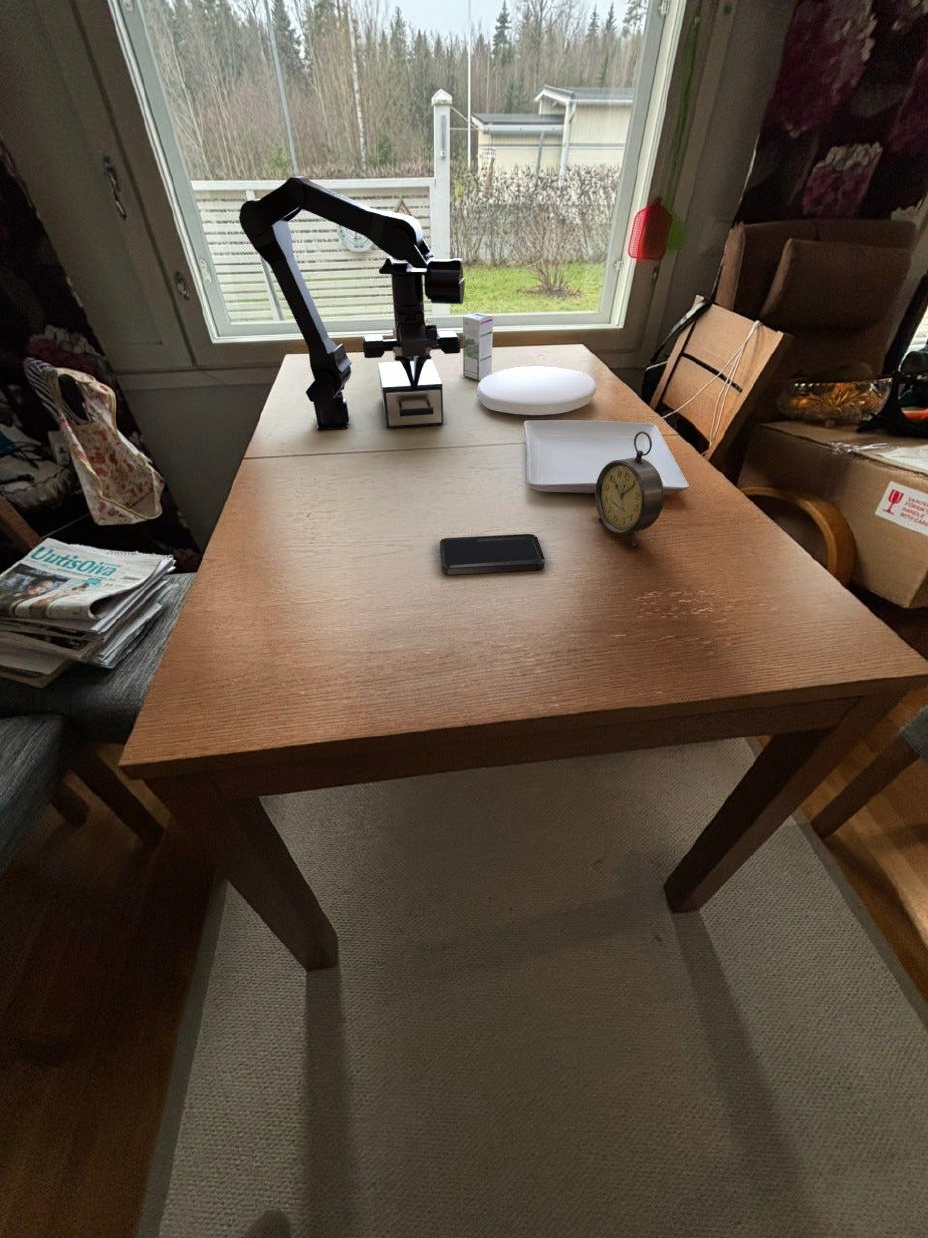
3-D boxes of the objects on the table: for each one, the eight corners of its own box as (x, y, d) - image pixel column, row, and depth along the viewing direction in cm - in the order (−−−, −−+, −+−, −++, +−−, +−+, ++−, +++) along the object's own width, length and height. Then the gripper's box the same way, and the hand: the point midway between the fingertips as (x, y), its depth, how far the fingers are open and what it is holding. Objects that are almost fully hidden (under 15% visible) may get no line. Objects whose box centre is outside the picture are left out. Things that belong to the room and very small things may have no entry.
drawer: (444, 431, 107) (443, 398, 102) (391, 435, 105) (387, 402, 101) (432, 397, 121) (431, 367, 117) (385, 400, 120) (381, 369, 115)
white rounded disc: (471, 399, 110) (480, 362, 129) (474, 428, 114) (482, 389, 134) (603, 389, 106) (592, 353, 125) (600, 420, 110) (590, 380, 130)
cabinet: (443, 424, 112) (442, 383, 106) (386, 428, 110) (382, 387, 104) (433, 397, 124) (432, 359, 118) (382, 400, 122) (378, 362, 116)
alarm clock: (587, 518, 83) (606, 421, 72) (613, 511, 85) (636, 415, 74) (628, 554, 76) (657, 451, 65) (657, 545, 78) (689, 444, 67)
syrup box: (492, 375, 136) (494, 314, 126) (478, 381, 132) (479, 318, 123) (476, 371, 138) (477, 310, 128) (462, 376, 135) (461, 315, 125)
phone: (546, 563, 72) (442, 568, 71) (545, 569, 73) (442, 575, 72) (535, 533, 78) (439, 537, 77) (535, 539, 79) (439, 543, 78)
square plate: (521, 436, 107) (523, 417, 105) (651, 439, 106) (656, 421, 103) (526, 500, 87) (528, 480, 85) (685, 505, 86) (692, 485, 84)
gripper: (358, 314, 87) (370, 407, 97) (465, 310, 89) (465, 400, 100) (357, 301, 95) (368, 387, 105) (455, 297, 97) (456, 382, 108)
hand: (414, 389), depth 104 cm, fingers closed
